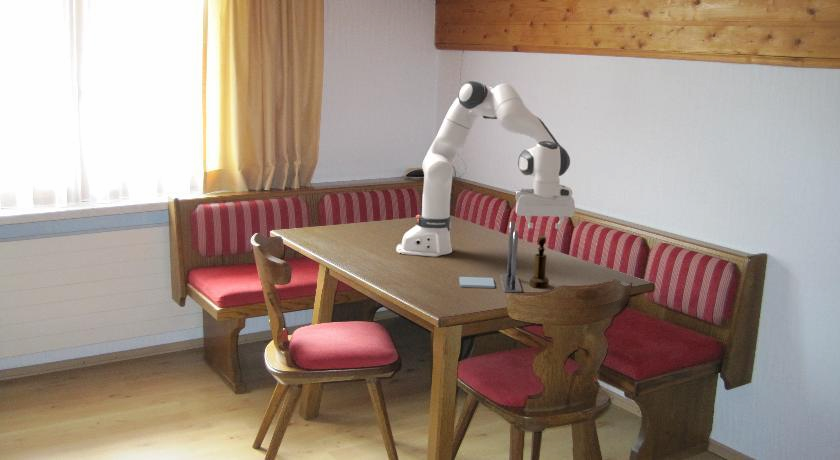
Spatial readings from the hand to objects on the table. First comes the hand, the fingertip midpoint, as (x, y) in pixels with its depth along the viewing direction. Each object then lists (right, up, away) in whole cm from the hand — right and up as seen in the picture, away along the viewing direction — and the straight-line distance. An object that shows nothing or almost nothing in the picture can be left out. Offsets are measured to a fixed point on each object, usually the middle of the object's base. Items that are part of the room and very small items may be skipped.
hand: (544, 228), depth 299 cm
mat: (-23, -19, +5) cm, 31 cm away
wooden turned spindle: (-1, -20, +4) cm, 21 cm away
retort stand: (-11, -20, +4) cm, 23 cm away
